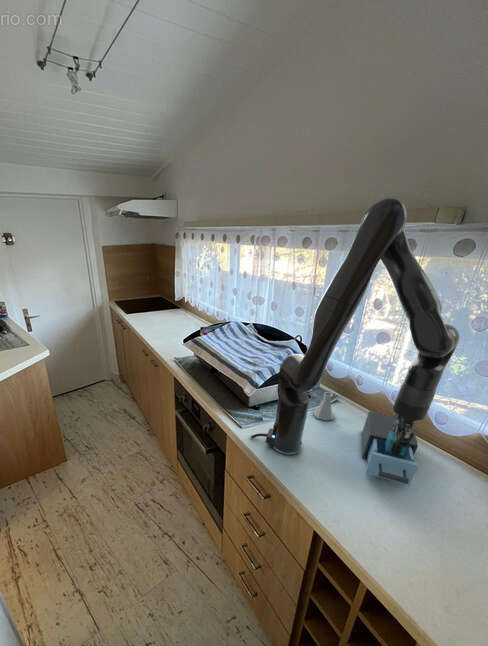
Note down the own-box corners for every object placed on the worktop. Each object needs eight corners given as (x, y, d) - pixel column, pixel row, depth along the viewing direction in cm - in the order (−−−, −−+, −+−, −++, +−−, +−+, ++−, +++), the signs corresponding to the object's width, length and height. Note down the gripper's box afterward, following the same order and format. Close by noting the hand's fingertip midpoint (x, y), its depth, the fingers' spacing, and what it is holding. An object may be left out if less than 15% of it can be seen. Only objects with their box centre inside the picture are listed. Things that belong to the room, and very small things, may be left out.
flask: (334, 421, 117) (340, 399, 113) (315, 419, 119) (320, 398, 114) (331, 411, 124) (336, 390, 119) (312, 409, 125) (316, 388, 120)
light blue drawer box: (411, 498, 84) (421, 478, 81) (365, 484, 89) (372, 464, 85) (404, 456, 99) (412, 437, 95) (364, 446, 103) (371, 428, 100)
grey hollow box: (407, 469, 95) (418, 445, 90) (362, 457, 100) (370, 434, 95) (402, 442, 106) (411, 419, 102) (361, 432, 111) (369, 410, 107)
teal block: (386, 451, 89) (390, 439, 87) (385, 442, 93) (389, 430, 90) (403, 455, 87) (408, 443, 85) (402, 446, 91) (407, 434, 89)
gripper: (436, 416, 75) (412, 467, 83) (426, 389, 86) (406, 437, 94) (400, 408, 78) (380, 459, 86) (395, 384, 89) (378, 431, 97)
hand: (394, 447), depth 90 cm, fingers closed on teal block, 4 cm apart
